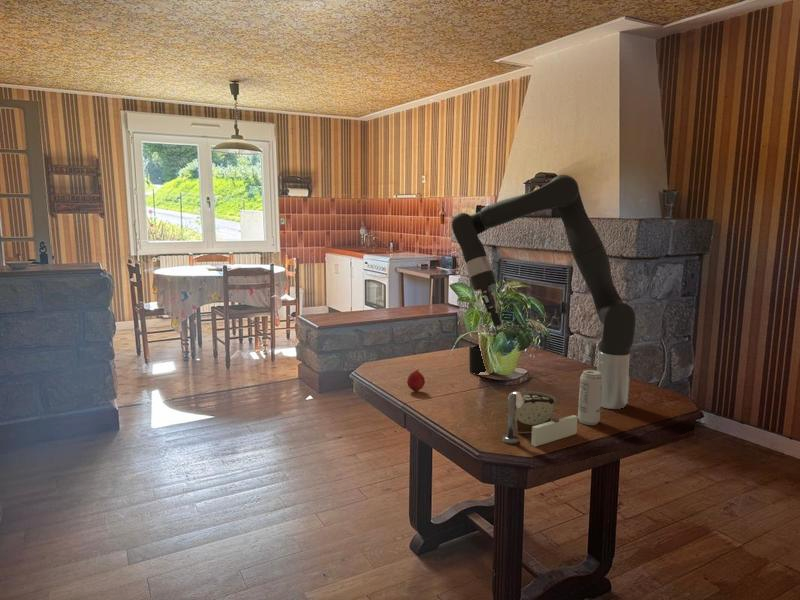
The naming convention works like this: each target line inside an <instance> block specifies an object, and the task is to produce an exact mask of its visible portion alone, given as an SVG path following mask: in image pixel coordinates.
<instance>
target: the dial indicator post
mask: <svg viewBox="0 0 800 600" xmlns="http://www.w3.org/2000/svg"><path fill="white" fill-rule="evenodd" d="M520 392H521V391H514V392H513V391H511V392H509V393H508V394H509V395H508V396H507V402H508V415H507V417H508V418H507V434H504V435H502V442H503V443H504V442H505V443H504V444H506V445H507V444H508V445H516V444H518V443H519V437H518V436H517V435H515V433H514V432H515V409H519V408H522V407H523V406H524V397H523V395H522V394H521V393H520Z"/></svg>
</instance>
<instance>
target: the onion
mask: <svg viewBox="0 0 800 600" xmlns="http://www.w3.org/2000/svg"><path fill="white" fill-rule="evenodd" d="M406 379H407V381H406V382H407V383H406V384H407V385H408V388H409V389H410V390H412V391H413V392H414V393H417V392H419V391H420V390H422V389H423V387H424V386H425V384H426V383H425V382H426V379H425V377H424V375H423V374H422V373H421V372H419V368H415V369H414V370H413V371H412V372H411V373H410V374H409V375H408V377H407V378H406Z"/></svg>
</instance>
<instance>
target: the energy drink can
mask: <svg viewBox="0 0 800 600" xmlns="http://www.w3.org/2000/svg"><path fill="white" fill-rule="evenodd" d="M602 380H603V379H602V377H601V373H600V372H599V371H597V369H596V370H594V369H584V370H582V374H581V375H580V377H579V394H578V409H577V416H578V418H577V420H579V422H580V423H581V424H583V425H586V426H595V425H598V423H599V422H600V419H601V408H602V407H601V394H602Z"/></svg>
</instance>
